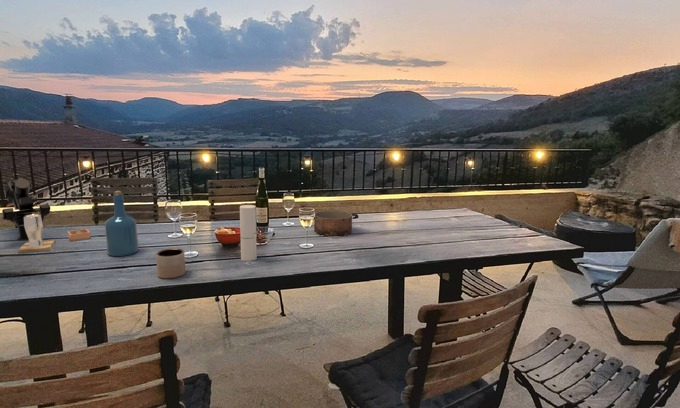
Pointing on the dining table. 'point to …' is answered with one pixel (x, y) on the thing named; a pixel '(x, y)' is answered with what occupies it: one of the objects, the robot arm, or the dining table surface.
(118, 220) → the wine bottle
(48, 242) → the oak board
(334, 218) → the cooking pot
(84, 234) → the terracotta dish
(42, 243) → the metal goblet
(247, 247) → the cylindrical container
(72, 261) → the dining table surface
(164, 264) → the planter
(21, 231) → the robot arm
